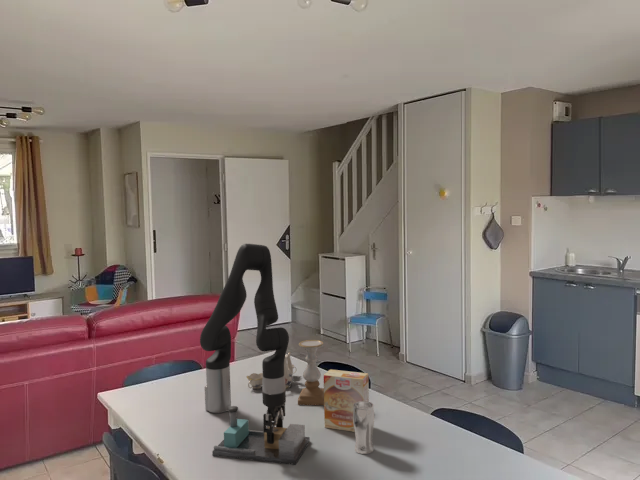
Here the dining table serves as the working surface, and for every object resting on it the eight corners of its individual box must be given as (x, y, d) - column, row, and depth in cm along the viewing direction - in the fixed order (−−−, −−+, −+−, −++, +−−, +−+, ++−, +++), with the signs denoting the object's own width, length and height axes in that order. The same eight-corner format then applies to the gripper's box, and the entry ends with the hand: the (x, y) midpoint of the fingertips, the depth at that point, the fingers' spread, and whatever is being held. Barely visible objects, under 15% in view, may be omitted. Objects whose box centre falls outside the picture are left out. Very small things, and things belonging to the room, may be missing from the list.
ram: (222, 447, 167) (221, 414, 167) (236, 432, 178) (235, 401, 177) (235, 448, 166) (234, 415, 165) (248, 433, 177) (247, 402, 176)
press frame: (212, 455, 166) (211, 436, 165) (233, 434, 181) (232, 416, 181) (295, 464, 159) (294, 444, 158) (309, 441, 174) (309, 422, 174)
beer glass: (351, 445, 170) (351, 401, 169) (372, 444, 171) (371, 400, 170) (355, 455, 163) (354, 409, 162) (376, 454, 164) (375, 408, 163)
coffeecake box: (324, 428, 184) (322, 374, 183) (330, 420, 191) (329, 368, 190) (364, 433, 179) (363, 379, 178) (369, 425, 185) (368, 372, 184)
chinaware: (283, 375, 247) (280, 341, 247) (311, 378, 237) (307, 342, 237) (242, 393, 225) (238, 356, 225) (270, 397, 215) (266, 358, 215)
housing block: (264, 447, 167) (264, 432, 167) (270, 441, 172) (269, 426, 171) (282, 449, 165) (281, 434, 165) (287, 442, 170) (286, 427, 170)
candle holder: (327, 395, 216) (325, 339, 214) (324, 405, 205) (323, 346, 203) (301, 395, 217) (299, 339, 215) (297, 405, 206) (295, 346, 205)
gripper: (270, 380, 175) (271, 427, 176) (254, 396, 161) (256, 446, 162) (291, 382, 173) (292, 429, 174) (277, 398, 159) (278, 448, 161)
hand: (275, 437), depth 168 cm, fingers open, 8 cm apart
